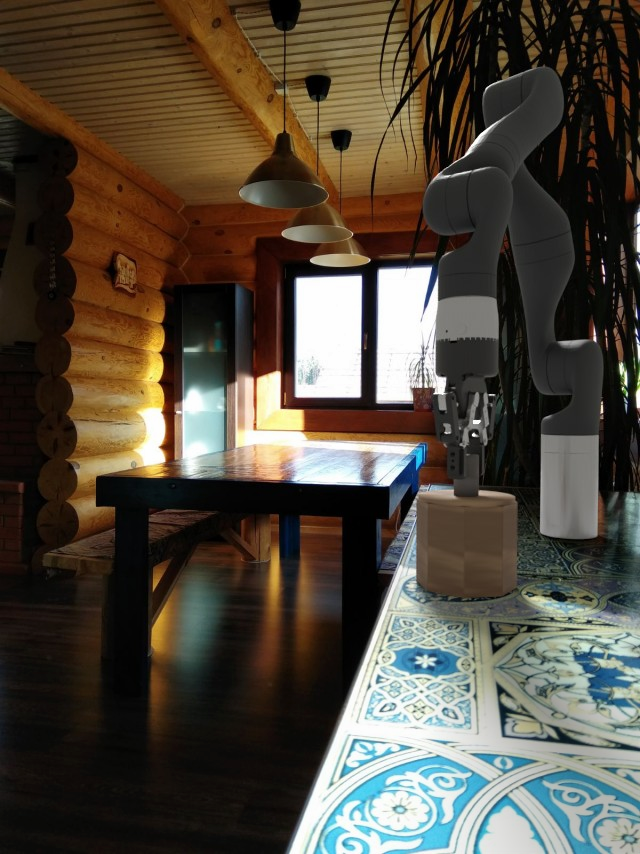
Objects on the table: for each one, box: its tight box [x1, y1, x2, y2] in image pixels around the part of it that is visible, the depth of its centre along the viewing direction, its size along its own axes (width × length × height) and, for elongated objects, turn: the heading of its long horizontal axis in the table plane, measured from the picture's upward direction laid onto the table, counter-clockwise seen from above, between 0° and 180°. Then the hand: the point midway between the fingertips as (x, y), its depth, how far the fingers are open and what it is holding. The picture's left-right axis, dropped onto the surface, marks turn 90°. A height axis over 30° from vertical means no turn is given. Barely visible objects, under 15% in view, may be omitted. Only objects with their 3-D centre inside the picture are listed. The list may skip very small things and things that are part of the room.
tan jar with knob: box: [415, 454, 519, 599], centre depth 80 cm, size 12×12×16 cm
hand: (465, 476), depth 80 cm, fingers open, 4 cm apart
